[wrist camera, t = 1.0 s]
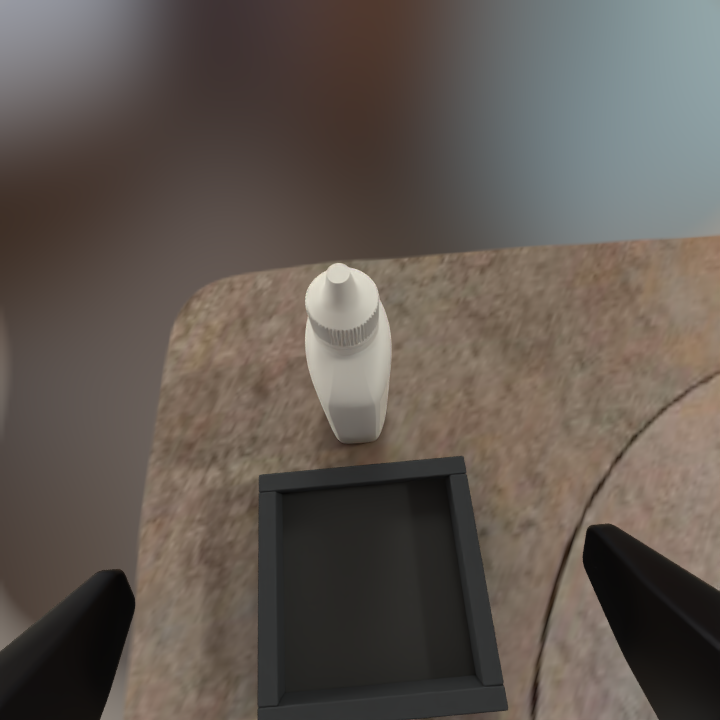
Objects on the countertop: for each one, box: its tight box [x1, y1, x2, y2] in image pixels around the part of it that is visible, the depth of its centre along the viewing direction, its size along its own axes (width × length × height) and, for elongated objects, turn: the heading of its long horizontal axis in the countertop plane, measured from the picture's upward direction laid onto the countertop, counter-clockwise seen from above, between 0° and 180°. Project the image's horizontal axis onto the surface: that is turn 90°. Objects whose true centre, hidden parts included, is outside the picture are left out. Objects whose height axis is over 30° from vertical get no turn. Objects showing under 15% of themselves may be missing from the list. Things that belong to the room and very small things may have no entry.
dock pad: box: [258, 456, 508, 720], centre depth 19 cm, size 10×10×2 cm
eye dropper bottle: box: [305, 263, 391, 444], centre depth 18 cm, size 4×6×12 cm
